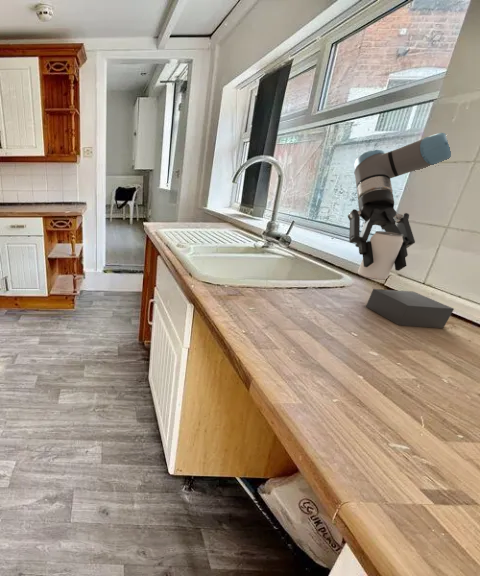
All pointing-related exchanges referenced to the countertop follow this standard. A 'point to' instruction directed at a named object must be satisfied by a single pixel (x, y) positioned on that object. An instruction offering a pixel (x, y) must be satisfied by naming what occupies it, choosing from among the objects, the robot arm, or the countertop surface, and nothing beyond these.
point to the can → (382, 255)
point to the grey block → (409, 308)
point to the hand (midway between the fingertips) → (384, 266)
